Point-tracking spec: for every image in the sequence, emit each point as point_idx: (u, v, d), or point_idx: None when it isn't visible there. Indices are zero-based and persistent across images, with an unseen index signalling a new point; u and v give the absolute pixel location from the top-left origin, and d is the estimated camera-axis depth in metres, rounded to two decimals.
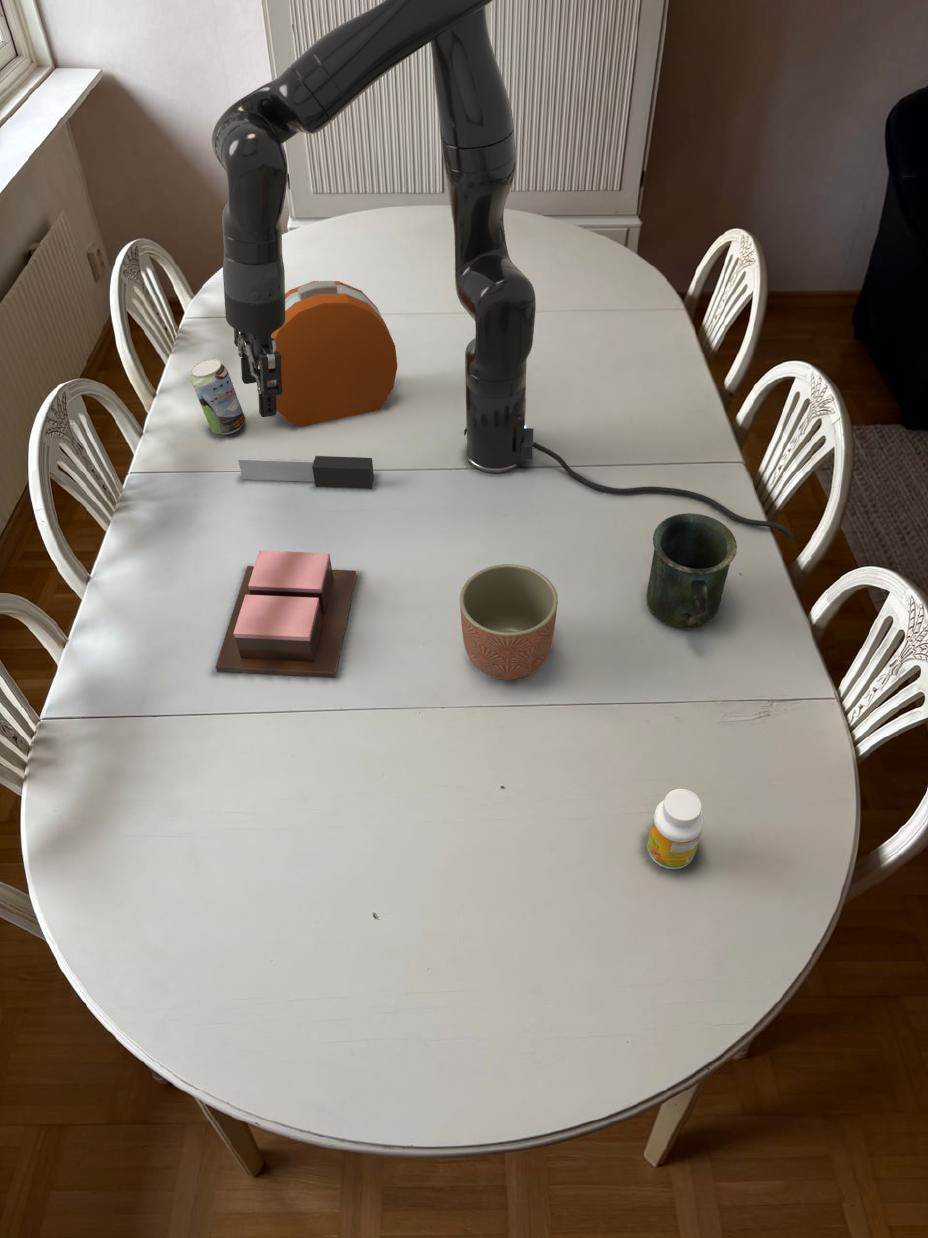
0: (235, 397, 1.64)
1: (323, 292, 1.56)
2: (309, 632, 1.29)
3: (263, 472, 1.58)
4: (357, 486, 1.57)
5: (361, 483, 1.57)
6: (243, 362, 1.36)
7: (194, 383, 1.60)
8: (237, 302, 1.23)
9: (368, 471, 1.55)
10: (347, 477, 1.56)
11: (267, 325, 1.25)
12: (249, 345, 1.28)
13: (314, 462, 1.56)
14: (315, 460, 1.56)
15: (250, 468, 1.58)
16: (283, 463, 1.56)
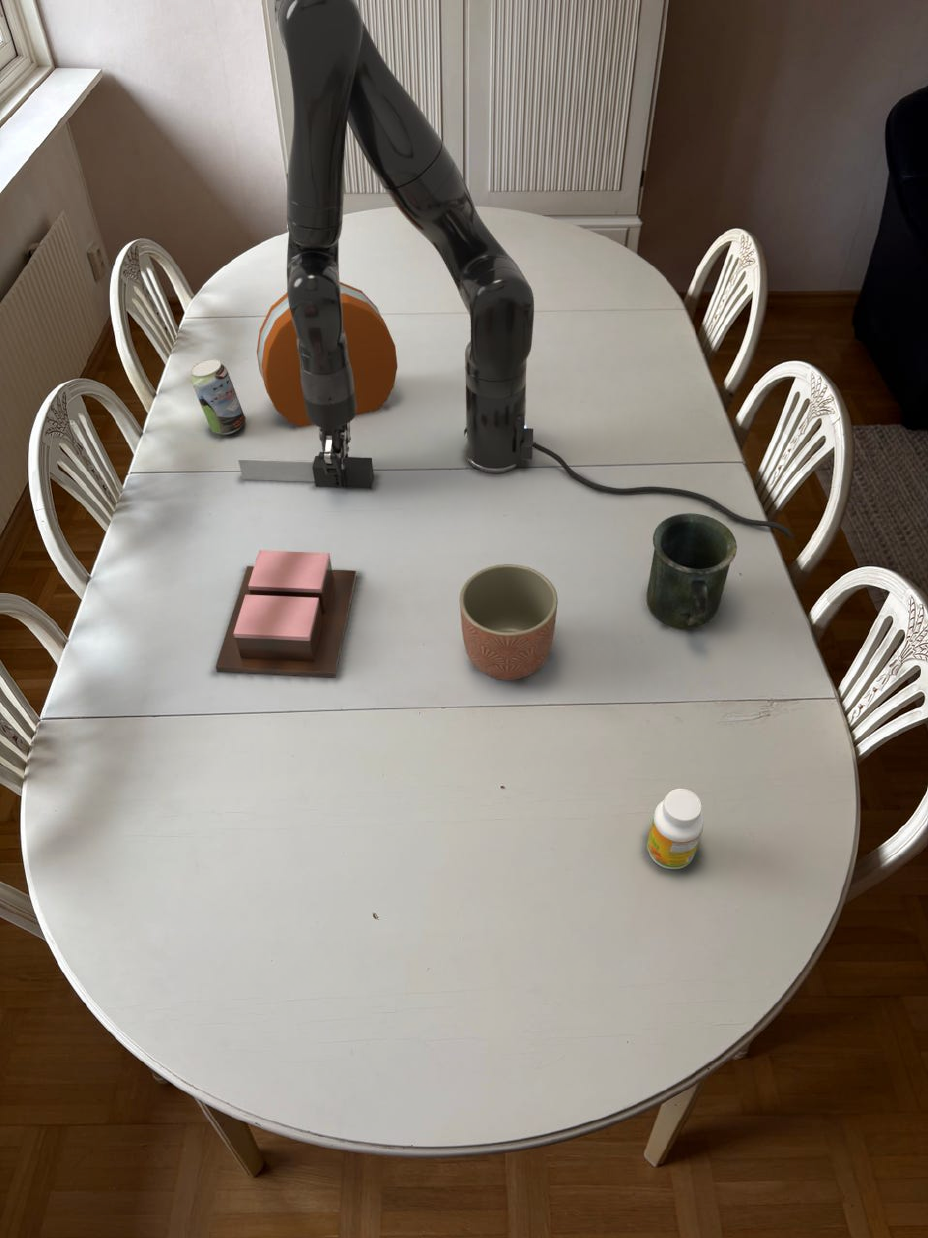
0: (235, 397, 1.64)
1: None
2: (309, 632, 1.29)
3: (263, 472, 1.58)
4: (357, 486, 1.57)
5: (361, 483, 1.57)
6: None
7: (194, 383, 1.60)
8: (306, 400, 1.44)
9: (368, 471, 1.55)
10: (347, 477, 1.56)
11: (329, 422, 1.45)
12: (322, 433, 1.49)
13: (314, 462, 1.56)
14: (315, 460, 1.56)
15: (250, 468, 1.58)
16: (283, 463, 1.56)
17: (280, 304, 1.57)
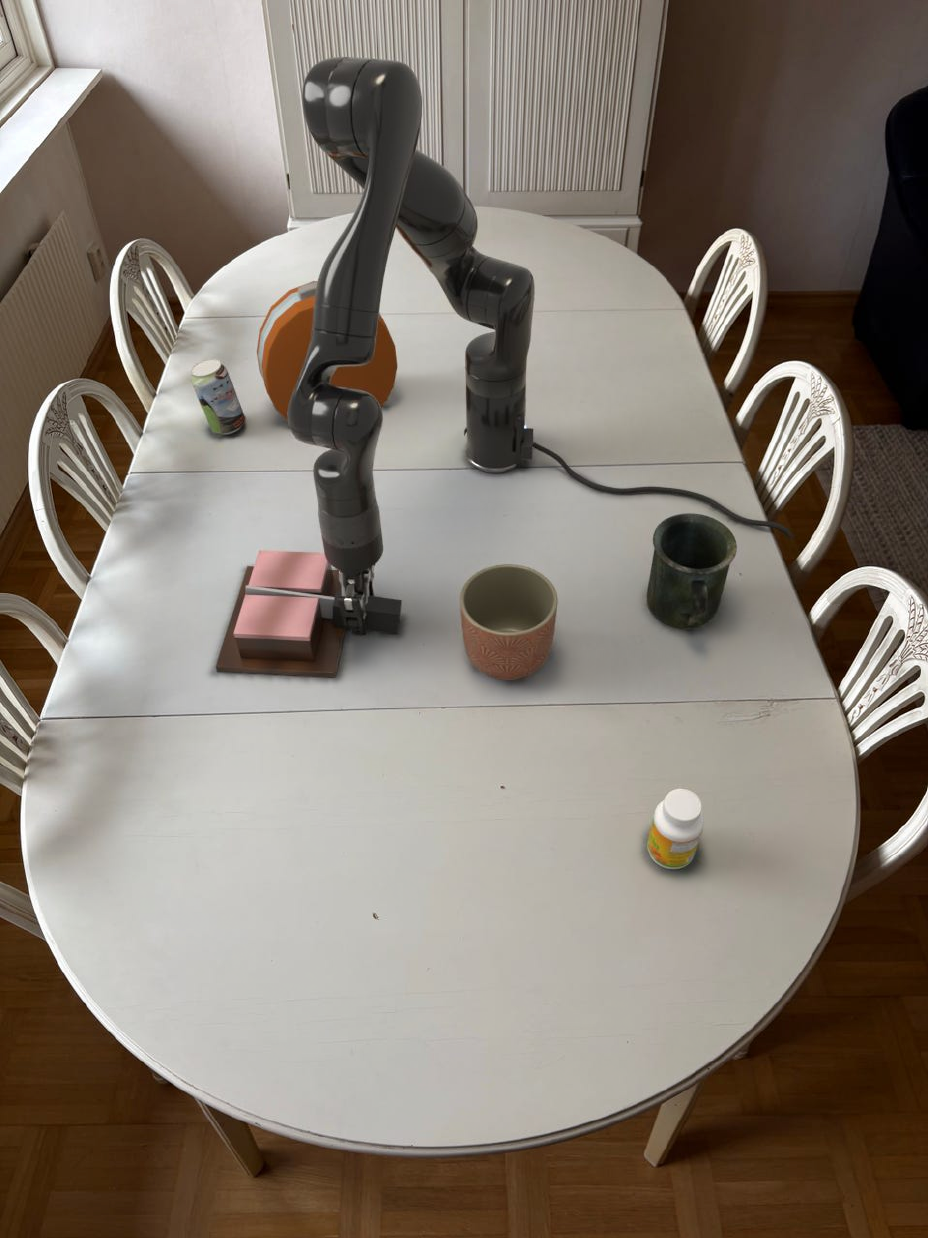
0: (235, 397, 1.64)
1: None
2: (309, 632, 1.29)
3: None
4: (381, 630, 1.36)
5: (386, 628, 1.36)
6: None
7: (194, 383, 1.60)
8: (325, 541, 1.23)
9: (397, 617, 1.34)
10: (372, 620, 1.35)
11: (352, 566, 1.24)
12: (342, 575, 1.28)
13: (335, 600, 1.34)
14: (336, 597, 1.34)
15: None
16: None
17: (280, 304, 1.57)
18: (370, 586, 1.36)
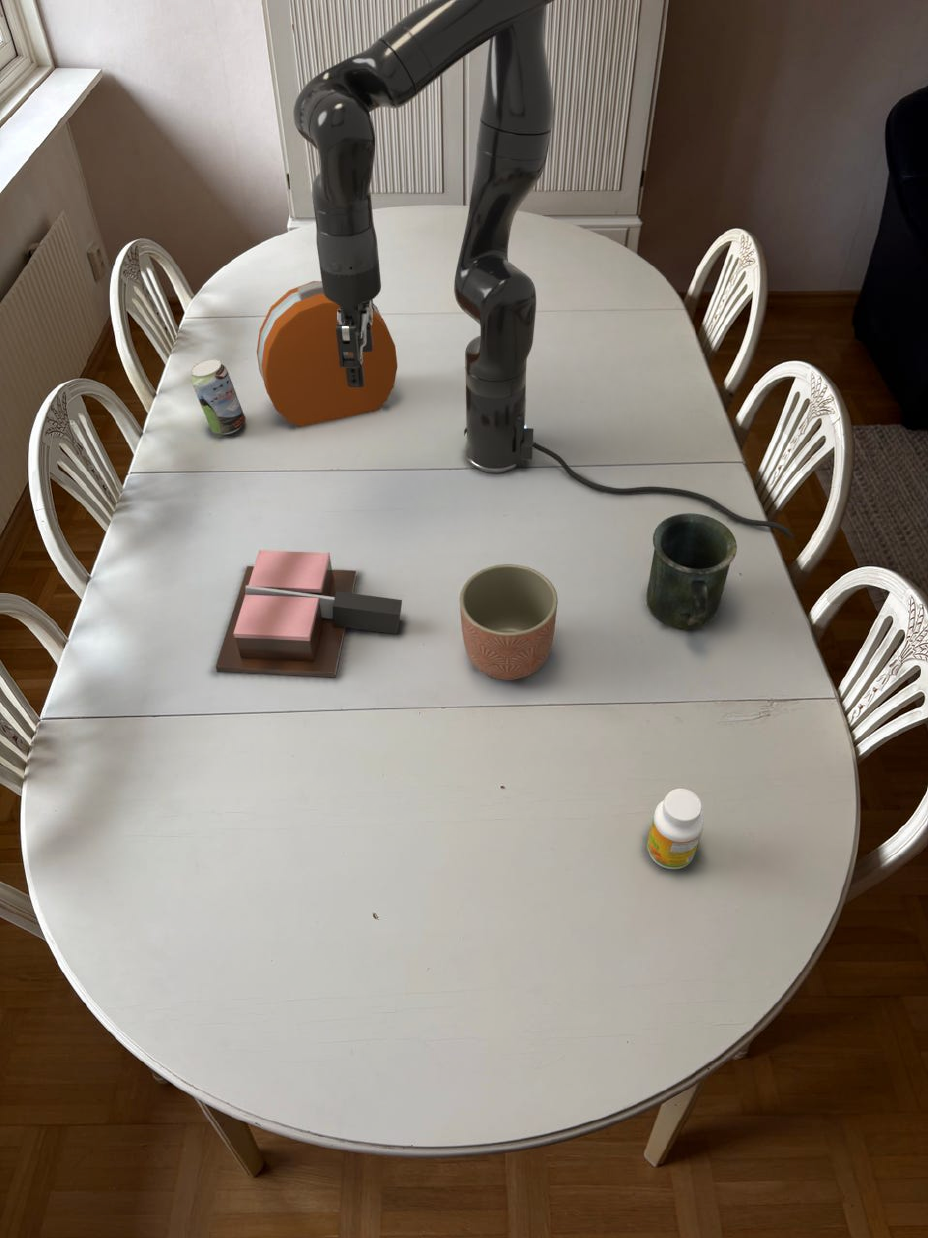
0: (235, 397, 1.64)
1: None
2: (309, 632, 1.29)
3: None
4: (381, 630, 1.36)
5: (386, 628, 1.36)
6: None
7: (194, 383, 1.60)
8: (323, 271, 1.25)
9: (397, 617, 1.34)
10: (372, 620, 1.35)
11: (350, 297, 1.26)
12: (340, 314, 1.30)
13: (335, 600, 1.34)
14: (336, 597, 1.34)
15: None
16: None
17: (280, 304, 1.57)
18: (369, 331, 1.38)
